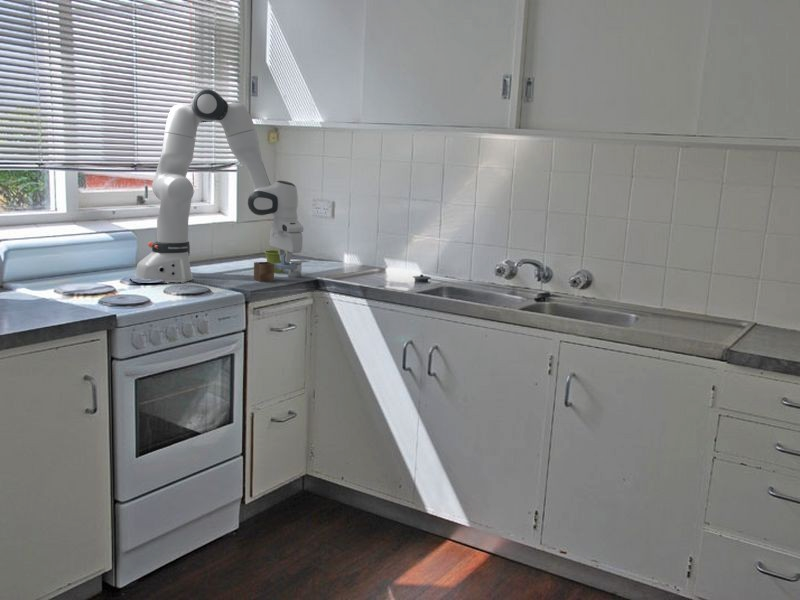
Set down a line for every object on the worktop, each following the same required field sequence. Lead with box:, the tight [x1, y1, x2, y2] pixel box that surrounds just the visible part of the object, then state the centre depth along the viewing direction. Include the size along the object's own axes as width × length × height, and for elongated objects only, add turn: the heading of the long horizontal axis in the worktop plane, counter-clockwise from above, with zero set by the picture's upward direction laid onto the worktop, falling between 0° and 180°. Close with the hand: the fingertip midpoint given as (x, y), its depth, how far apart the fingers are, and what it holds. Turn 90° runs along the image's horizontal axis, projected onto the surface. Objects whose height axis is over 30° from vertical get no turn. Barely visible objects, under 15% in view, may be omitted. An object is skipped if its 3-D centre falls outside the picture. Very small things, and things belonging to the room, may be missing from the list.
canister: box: [253, 261, 275, 283], centre depth 317 cm, size 6×6×7 cm
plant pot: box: [263, 249, 286, 274], centre depth 337 cm, size 9×9×9 cm
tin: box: [287, 260, 303, 279], centre depth 328 cm, size 5×5×6 cm
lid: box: [274, 255, 297, 271], centre depth 318 cm, size 7×7×5 cm
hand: (285, 261), depth 318 cm, fingers closed on lid, 2 cm apart
